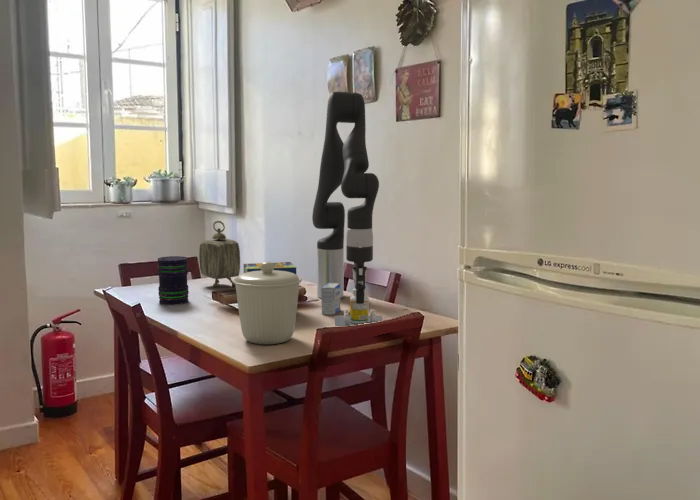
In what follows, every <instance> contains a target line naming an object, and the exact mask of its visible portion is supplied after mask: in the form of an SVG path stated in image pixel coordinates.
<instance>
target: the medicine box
mask: <svg viewBox="0 0 700 500" xmlns="http://www.w3.org/2000/svg"><path fill="white" fill-rule="evenodd" d="M320 300H321V303H320V304H321V315H326V316H328V315H329V316H331V315H332V316H336V314H337V313H338V312H340V310H341V298H340V284H338V283H328V284H326V285H325V286H324V287H322V288H321V298H320Z"/></svg>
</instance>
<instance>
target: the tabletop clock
mask: <svg viewBox="0 0 700 500" xmlns="http://www.w3.org/2000/svg"><path fill="white" fill-rule="evenodd" d="M217 223H219V224H221V225H222V227H223V229H221V227H220V228H219V227H218V228H217V229H216V228H215V225H216V224H217ZM212 227H213V230H214V231H215V233H214V234H213V235H212V238H211V239H209V240H204V241H203V242H201V243H200V245H199V249H198V251H199V259H198V260H199V269H200V273H201V275H203V276H205V277H207V278H211V279H215V280H214V283H213V284H212V286H213V288H217V287H218V284H219V283H220V280H222V279H227V280H228V281H229V282H230V283H231V287H232V288H236V285H235V284H234V283H233V279H232V278H237V277H238V276H239V275H240V272H241V271H240V270H241V249H240V244H239V243H238V241H236V240H235V239H231V238H227V236H226V234H225V233H223V232H224V231H225V229H226V227H225V223H224V222H222V221H221V220H216V221H214V223H213V225H212Z"/></svg>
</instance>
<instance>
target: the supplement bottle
mask: <svg viewBox="0 0 700 500" xmlns="http://www.w3.org/2000/svg"><path fill="white" fill-rule="evenodd" d="M351 291H352V294H353V295H352V296H350V298H349V316H350V321H351V322H352V323H355V324H364V323H367V322H368V321H369V316H370V311H369V310H370V309H369V308H370V307H369V305H370V304H369V303H370V299H369V296H367V288H365V290H364V303H363V304H357V303H356V289H355V287H353V288H352V290H351Z"/></svg>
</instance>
